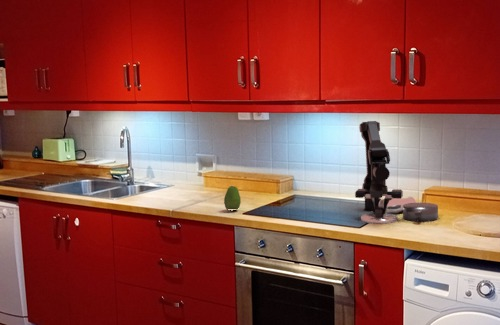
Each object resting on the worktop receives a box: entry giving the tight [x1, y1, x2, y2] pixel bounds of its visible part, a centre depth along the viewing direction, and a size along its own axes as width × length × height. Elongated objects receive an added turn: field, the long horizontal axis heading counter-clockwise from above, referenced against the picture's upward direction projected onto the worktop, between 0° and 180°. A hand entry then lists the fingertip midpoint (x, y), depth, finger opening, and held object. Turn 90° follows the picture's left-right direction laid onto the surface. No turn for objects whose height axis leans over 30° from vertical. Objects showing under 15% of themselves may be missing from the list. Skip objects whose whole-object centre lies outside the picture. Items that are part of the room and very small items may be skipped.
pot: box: [402, 202, 439, 223], centre depth 243 cm, size 14×18×5 cm
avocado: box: [223, 185, 242, 210], centre depth 277 cm, size 8×8×12 cm
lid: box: [360, 206, 399, 225], centre depth 245 cm, size 15×15×5 cm
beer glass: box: [379, 196, 417, 215], centre depth 257 cm, size 7×7×15 cm
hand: (379, 214), depth 246 cm, fingers closed on lid, 3 cm apart
